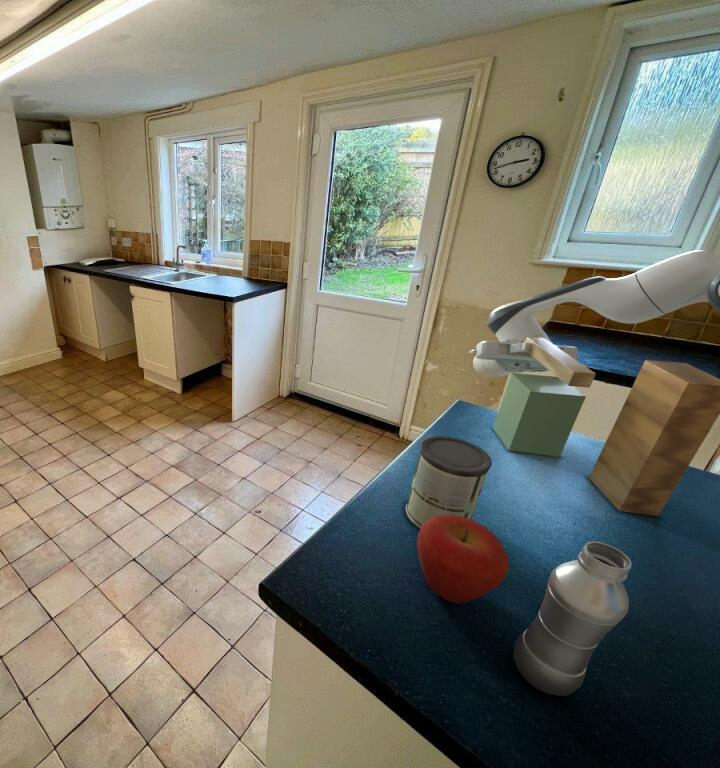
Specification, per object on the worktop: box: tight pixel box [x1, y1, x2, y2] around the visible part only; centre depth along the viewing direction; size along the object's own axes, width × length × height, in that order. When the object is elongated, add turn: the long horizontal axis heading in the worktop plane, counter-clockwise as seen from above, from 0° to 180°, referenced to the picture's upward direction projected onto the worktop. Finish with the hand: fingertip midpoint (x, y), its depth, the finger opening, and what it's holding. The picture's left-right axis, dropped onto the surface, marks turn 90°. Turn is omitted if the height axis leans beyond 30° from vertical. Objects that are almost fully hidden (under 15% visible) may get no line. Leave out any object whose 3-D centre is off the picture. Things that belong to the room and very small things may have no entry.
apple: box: [416, 515, 510, 604], centre depth 58 cm, size 11×11×12 cm
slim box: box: [525, 337, 597, 389], centre depth 88 cm, size 4×21×3 cm, turn 166°
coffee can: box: [405, 435, 493, 530], centre depth 72 cm, size 10×10×14 cm
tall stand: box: [588, 359, 720, 517], centre depth 74 cm, size 6×10×26 cm, turn 166°
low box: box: [492, 373, 587, 458], centre depth 94 cm, size 10×10×15 cm
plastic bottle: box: [512, 541, 632, 697], centre depth 46 cm, size 6×7×20 cm
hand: (541, 347), depth 94 cm, fingers closed on slim box, 3 cm apart
